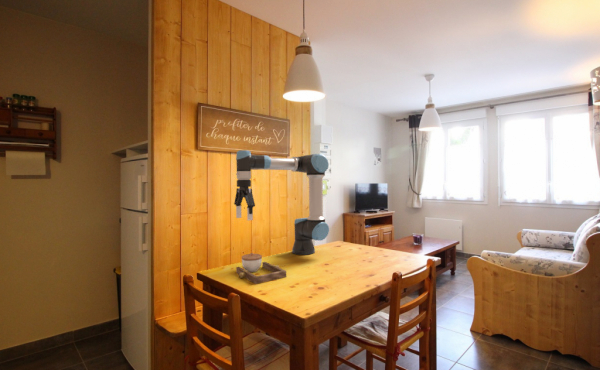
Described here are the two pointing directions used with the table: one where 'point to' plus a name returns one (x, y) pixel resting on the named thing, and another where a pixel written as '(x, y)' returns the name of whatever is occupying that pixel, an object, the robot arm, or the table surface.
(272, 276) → the rail
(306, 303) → the table surface
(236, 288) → the table surface
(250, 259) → the lidded jar
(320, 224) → the robot arm
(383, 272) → the table surface
